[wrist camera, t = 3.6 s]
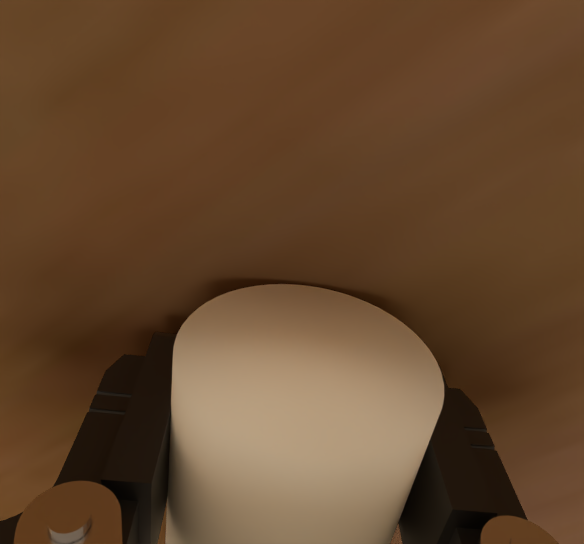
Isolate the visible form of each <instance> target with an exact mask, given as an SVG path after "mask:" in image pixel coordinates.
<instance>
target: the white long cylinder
mask: <svg viewBox="0 0 584 544" xmlns="http://www.w3.org/2000/svg"><path fill="white" fill-rule="evenodd" d="M443 401H444V382H443V378H442V373H441V371H440V368H439V366H438V363H437V361H436V359H435V358H434V356H433V354H432V353H431V351H430V350H429V349H428V347H427V346H426V345H425V343H424V342H423V341H422V340H421V339H420V338H419V337H418V336H417V335H416V334H415V333H414V332H413V331H412V330H411V329H410V328H408V327H407V326H406V325H405V324H404V323H402V322H401V321H399V320H398V319H396V318H395V317H394V316H392V315H391V314H389V313H387V312H385V311H384V310H382V309H380V308H378V307H376V306H374V305H372V304H370V303H368V302H366V301H363V300H361V299H358V298H355V297H353V296H350V295H347V294H344V293H340V292H337V291H333V290H329V289H324V288H319V287H313V286H305V285H294V284H268V285H258V286H252V287H246V288H241V289H238V290H234V291H231V292H228V293H225V294H223V295H220V296H218V297H216V298H214V299H212V300H210V301H208V302H206V303H205V304H203V305H202V306H200V307H199V308H198V309H196V310H195V311H194V312H193V313H192V314H191V315H190V316H189V317H188V318H187V319H186V321H185V322H184V323H183V325H182V326H181V328H180V330H179V332H178V334H177V336H176V339H175V343H174V347H173V364H172V390H171V426H170V451H169V476H168V498H167V516H166V541H165V544H390V543H391V540H392V537H393V535H394V532H395V530H396V527H397V524H398V522H399V519H400V517H401V514H402V511H403V509H404V506H405V503H406V501H407V498H408V496H409V493H410V490H411V488H412V485H413V483H414V480H415V477H416V475H417V472H418V470H419V467H420V464H421V462H422V459H423V457H424V454H425V451H426V449H427V446H428V443H429V441H430V438H431V436H432V433H433V430H434V428H435V425H436V423H437V420H438V417H439V415H440V412H441V410H442V406H443Z"/></svg>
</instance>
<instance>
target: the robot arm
mask: <svg viewBox="0 0 584 544" xmlns="http://www.w3.org/2000/svg"><path fill="white" fill-rule="evenodd" d="M176 336H177V334H170V333H161V332H155V333H154V335H153V337H152V340H151V342H150V345H149V348H148V351H147V354H146V356H136V355H127V354H124V355H123V356H122V357H121V358H120V359H119V360H117V361H116V362H115V363H114V364H113V365H112V366H111V367H110V368H108V369H107V370H106V372H105V374H104V376H103V379H102V381H101V383H100V385H99V388H98V390H97V394H96V395H95V396H94V399H93V401H92V403H91V405H90V408H89V412H87V414H86V417H85V419H84V421H83V423H82V425H81V428H80V430H79V432H78V434H77V437H76V439H75V441H74V443H73V446H72V448H71V450H70V452H69V454H68V457H67V459H66V461H65V463H64V466H63V468H62V470H61V472H60V475H59V477H58V479H57V481H56V482H55V484H54V486H53V487H52V488H50V489H48V490H46V491H45V492H43V493H42V494H40V495H39V496H38V497H36V498H35V499H34V500H33V501H32V502H31V503H30V504H29V505H28V506H27V507H26V509H25V510H24V512H22V513H20V514H18V515H16V516H14V517H11V518H9V519H6V520H3V521H0V544H157V543H158V538H159V534H160V529H161V525H162V520H163V516H164V511H165V507H166V502H167V498H168V476H169V451H170V426H171V390H172V364H173V347H174V343H175V339H176ZM438 366H439V365H438ZM439 368H440V366H439ZM440 371H441V369H440ZM441 373H442V371H441ZM442 378H443V382H444V401H443V406H442V410H441V412H440V415H439V417H438V420H437V423H436V425H435V428H434V430H433V433H432V436H431V438H430V441H429V443H428V446H427V449H426V451H425V454H424V457H423V459H422V462H421V464H420V467H419V470H418V472H417V475H416V477H415V480H414V483H413V485H412V488H411V490H410V493H409V496H408V498H407V501H406V503H405V506H404V509H403V511H402V514H401V517H400V519H399V522H398V524H399V528H400V533H401V538H402V543H403V544H559V543H558V542H557V541H556V540H555V539H554V538H553V537H552V536H551V535H550V534H548V533H547V532H546V531H545V530H543V529H542V528H540V527H539V526H538V525H536V524H534V523H532V522H530V521H528V519H527V518H526V515H525V513H524V511H523V509H522V506H521V504H520V502H519V500H518V497H517V495H516V493H515V491H514V489H513V486H512V484H511V482H510V480H509V477H508V475H507V473H506V471H505V468H504V466H503V464H502V462H501V459H500V457H499V455H498V453H497V451H495V450H494V447H495V446H494V444H493V442H492V439H491V437H490V435H489V433H487V428H486V426H485V424H484V421H483V419H482V417H481V415H480V412H479V410H478V408H477V407H476V406H475V405H474V404H473V403H472V402H471V400H470V399H469V398H468V397H467V396H466V395H465V394H464V393H463V392H462V391H461V390H460V389H454V388H448V386H447V384H446V381H445V379H444V376H443V374H442Z"/></svg>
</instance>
